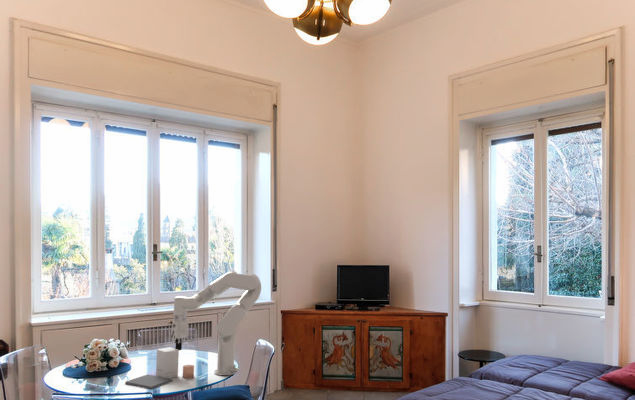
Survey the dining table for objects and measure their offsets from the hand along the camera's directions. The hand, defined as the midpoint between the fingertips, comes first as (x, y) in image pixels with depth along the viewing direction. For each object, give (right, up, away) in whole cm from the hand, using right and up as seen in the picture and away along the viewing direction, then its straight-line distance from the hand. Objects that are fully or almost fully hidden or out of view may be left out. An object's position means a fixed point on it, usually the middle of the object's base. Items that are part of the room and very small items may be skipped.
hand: (178, 349), depth 301 cm
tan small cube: (+8, -13, -10) cm, 18 cm away
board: (-10, -11, -22) cm, 26 cm away
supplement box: (-4, -13, -9) cm, 16 cm away
